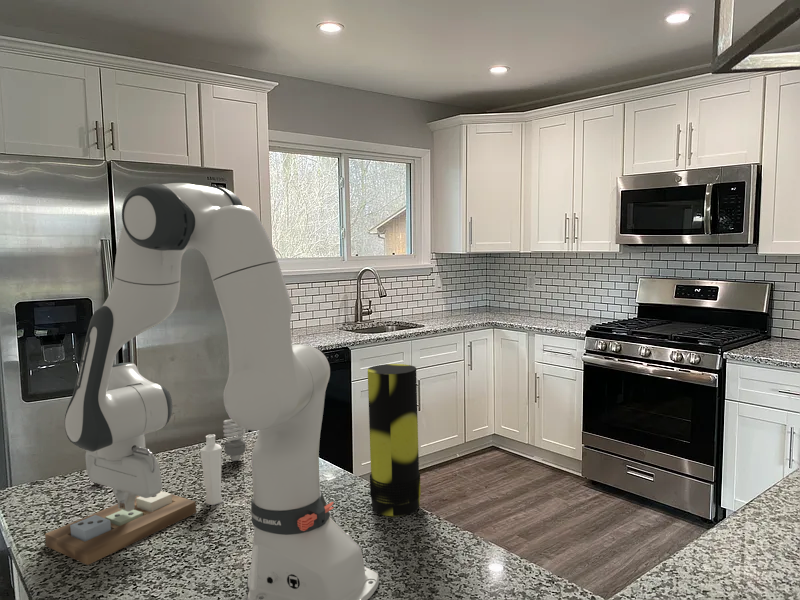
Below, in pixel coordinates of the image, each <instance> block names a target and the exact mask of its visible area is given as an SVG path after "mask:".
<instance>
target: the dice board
mask: <svg viewBox="0 0 800 600" xmlns="http://www.w3.org/2000/svg"><path fill="white" fill-rule="evenodd" d="M137 497H140V496H136V498H137ZM136 498H135V501H134V503H135V508H134V510H137V511H140V512H143V516H141V517H139V518H137V519H135V520H132V521H130V522H128V523H126V524H123V525H121V526H118V525H115V524H112V523H111V530H110V531H108V532H105V533H103V534H101V535H99V536H97V537H94V538H92V539H90V540H88V541H85V542H84V541H82V540H80V539H77V538H75V537H72V536H71V528H70V525H72V524H74V523H77V522H79V521H82V520H84V519H87V518H89V517H91V516H94V515H97V516H100V517H102V518H105V517H106V516H109V515H111V514H113V513H116V512H118V511H121V509H119V508H118V503H117V504H114V505H112V506H109V507H107V508H105V509H101V510H100V511H96V512H95V513H93V514H90V515H88V516H85V517H82V518H80V519H77V520H75V521H72V522H71V523H67V524H66V525H64V526H61V527H58V528H57V529H54V530H51V531H49V532H46V533H44V536H45V537H44V538H45V547H47V548H49V549H51V550H53V551H54V552H55V551H56V552H57V553H60V554H63V555H64V556H67V557H68V558H71V559H72V560H76V561H78V562H80V563H82V564H85V565H87V566H89V565H91V564H94V563H95V562H97V561H99V560H102V559H103V558H105V557H108V556H110V555H112V554H114V553H116V552H118V551H120V550H122V549H124V548H126V547H129V546H131V545H132V544H135V543H136V542H139V541H141V540H143V539H146V538H148V537H149V536H151V535H153V534H155V533H157V532H159V531H162V530H163V529H166V528H168V527H170V526H171V525H174V524H176V523H178V522H180V521H183V520H184V519H187V518H188V517H191V516H192V515H195V514H196V513H197V503H196V501H195V500H191V499H189V498H186V497H182V496H178V495H175V494H172V503H171V504H168V505H166V506H164V507H162V508H159V509H157V510H155V511H153V512H149V511H146V510H143V509H140V508H137V503H136Z"/></svg>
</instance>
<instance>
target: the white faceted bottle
mask: <svg viewBox="0 0 800 600" xmlns="http://www.w3.org/2000/svg"><path fill="white" fill-rule="evenodd" d="M205 438H206V439H205V440H206V442H205V443H206V445H204V446H203V447H202V448H200V449H199V451H200V452H199V453H200V458H201V466H202V473H203V480H204V487H205V495H206V497H205V501H204V504H207V505H211V506H214V505H217V504H221V503H223V502H224V501H223V497H222V446H221V444H218V443H216V434H207V435H205Z"/></svg>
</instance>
